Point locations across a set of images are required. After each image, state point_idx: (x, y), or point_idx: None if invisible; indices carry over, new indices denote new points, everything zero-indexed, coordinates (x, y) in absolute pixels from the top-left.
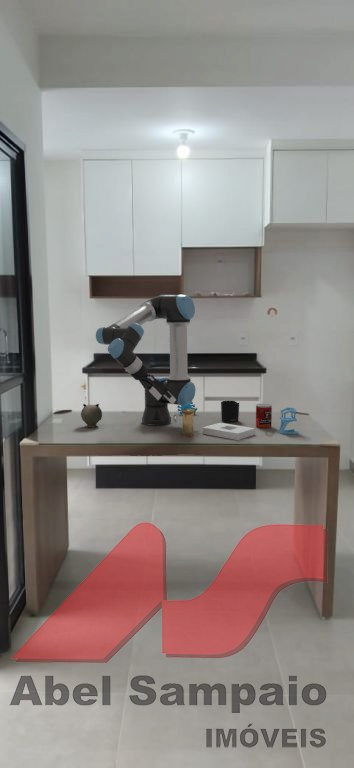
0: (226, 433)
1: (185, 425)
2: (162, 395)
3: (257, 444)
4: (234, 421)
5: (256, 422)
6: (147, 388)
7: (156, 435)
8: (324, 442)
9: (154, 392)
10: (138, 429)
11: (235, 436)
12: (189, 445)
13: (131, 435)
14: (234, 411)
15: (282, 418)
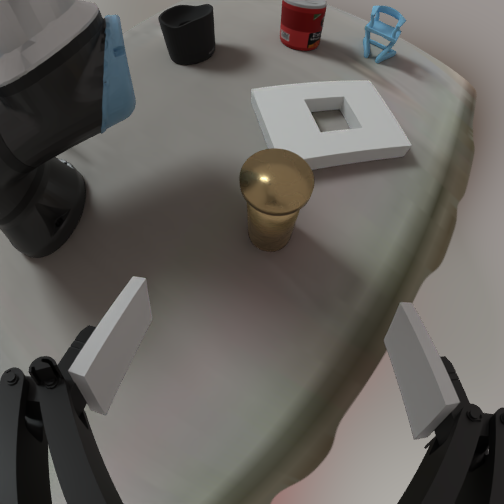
0: (375, 152)
1: (284, 234)
2: (427, 446)
3: (452, 157)
4: (214, 50)
5: (295, 40)
6: (95, 444)
7: (192, 333)
8: (457, 78)
9: (118, 355)
10: (74, 323)
11: (401, 152)
12: None
13: (135, 406)
14: (213, 29)
15: (381, 32)
